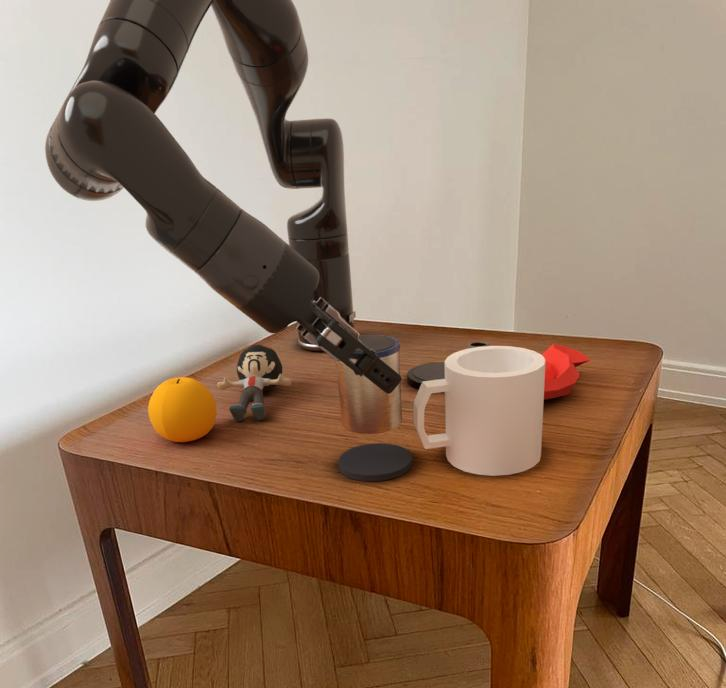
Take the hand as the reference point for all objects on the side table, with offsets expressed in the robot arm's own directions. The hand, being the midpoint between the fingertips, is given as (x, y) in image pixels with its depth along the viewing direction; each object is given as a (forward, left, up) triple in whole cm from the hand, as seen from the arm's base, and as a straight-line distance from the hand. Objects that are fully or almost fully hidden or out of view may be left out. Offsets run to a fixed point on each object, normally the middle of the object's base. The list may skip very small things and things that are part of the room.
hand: (384, 374), depth 77 cm
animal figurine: (-13, +25, -10) cm, 30 cm away
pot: (0, -2, -5) cm, 5 cm away
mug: (+2, +10, -10) cm, 15 cm away
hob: (-22, +14, -10) cm, 28 cm away
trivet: (0, -2, -10) cm, 10 cm away
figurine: (-25, -11, -10) cm, 29 cm away
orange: (-17, -21, -10) cm, 28 cm away
